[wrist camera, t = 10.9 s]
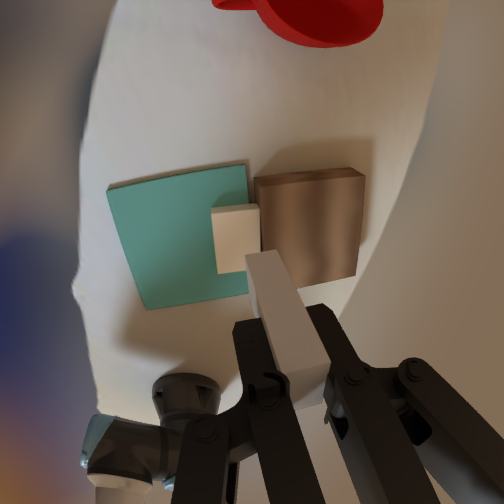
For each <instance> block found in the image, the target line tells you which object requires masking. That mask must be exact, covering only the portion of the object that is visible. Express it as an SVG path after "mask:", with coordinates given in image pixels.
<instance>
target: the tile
mask: <svg viewBox="0 0 504 504" xmlns="http://www.w3.org/2000/svg"><path fill="white" fill-rule="evenodd" d="M210 209H211V219H212V228H213V238H214V247H215V256H216V264H217V271H218V274H223V273H231V272H238V271H246V264H245V256H244V255H247V254H252V253H258V252H260V209H259V207H258V205H257V203H251V204H242V205H232V206H223V207H214V208H210Z"/></svg>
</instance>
